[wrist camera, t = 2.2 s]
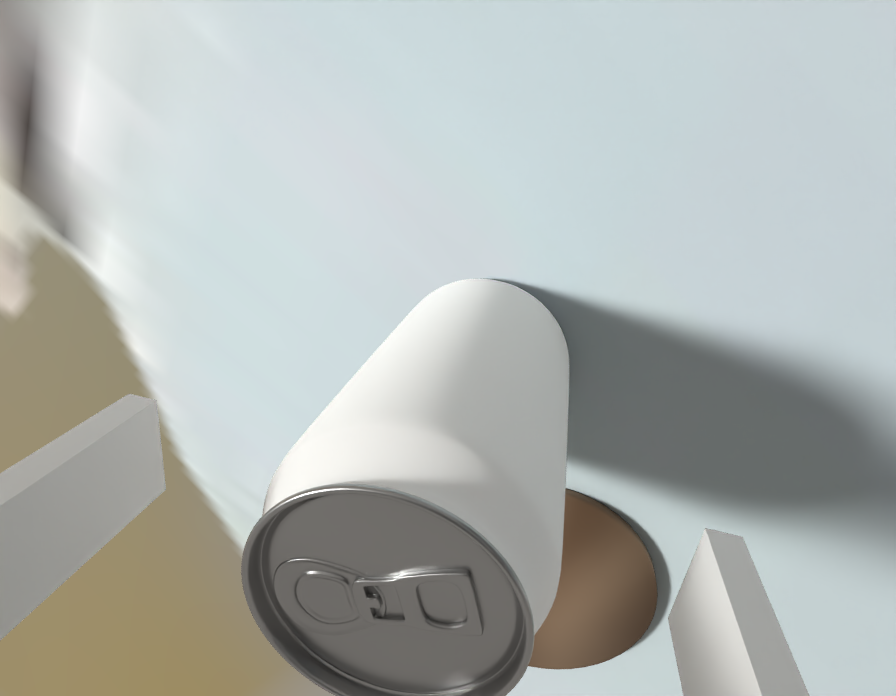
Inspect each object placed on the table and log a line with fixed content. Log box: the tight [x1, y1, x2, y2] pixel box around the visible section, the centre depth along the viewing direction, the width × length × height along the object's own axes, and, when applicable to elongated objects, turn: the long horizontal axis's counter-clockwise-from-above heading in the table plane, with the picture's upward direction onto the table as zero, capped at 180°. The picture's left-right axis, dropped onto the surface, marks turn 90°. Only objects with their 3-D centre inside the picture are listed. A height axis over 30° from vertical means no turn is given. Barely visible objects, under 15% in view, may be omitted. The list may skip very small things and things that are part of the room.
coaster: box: [528, 489, 657, 669], centre depth 24 cm, size 10×10×1 cm
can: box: [241, 279, 569, 696], centre depth 15 cm, size 6×6×12 cm
